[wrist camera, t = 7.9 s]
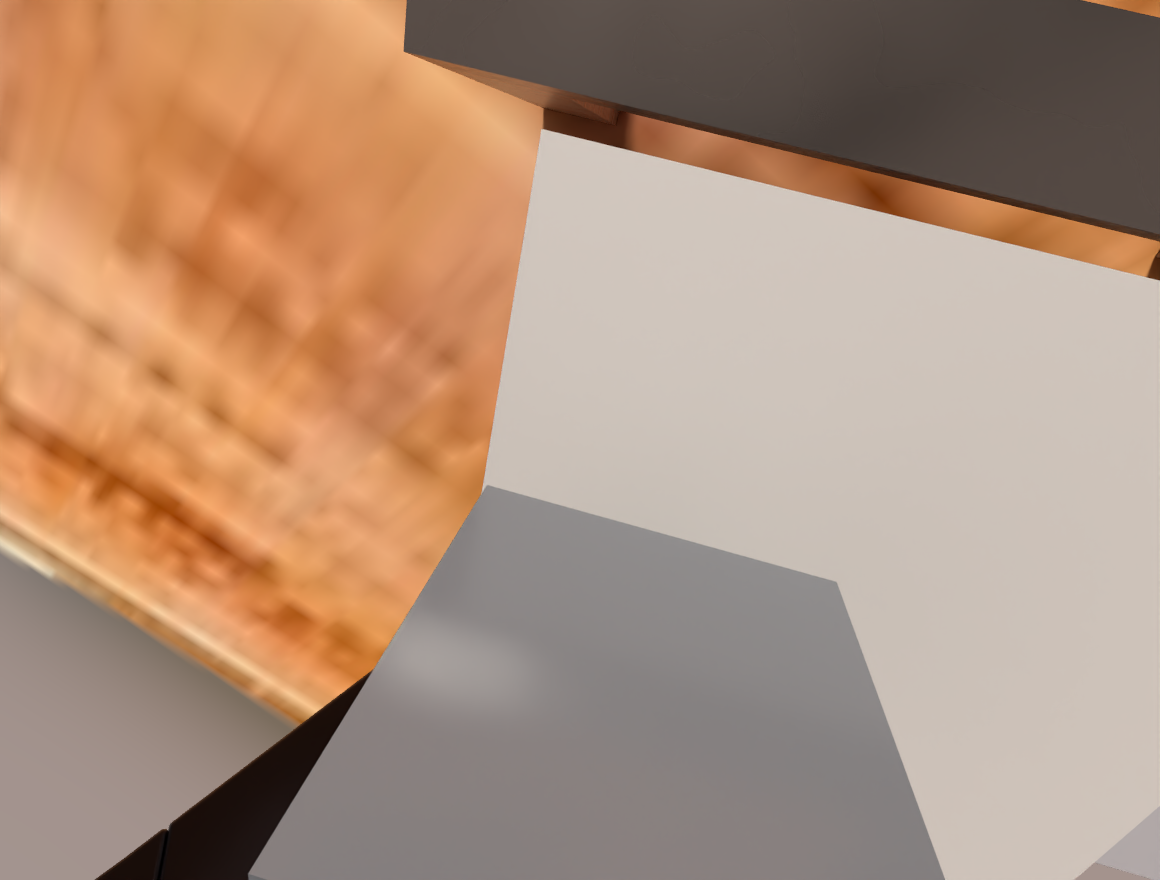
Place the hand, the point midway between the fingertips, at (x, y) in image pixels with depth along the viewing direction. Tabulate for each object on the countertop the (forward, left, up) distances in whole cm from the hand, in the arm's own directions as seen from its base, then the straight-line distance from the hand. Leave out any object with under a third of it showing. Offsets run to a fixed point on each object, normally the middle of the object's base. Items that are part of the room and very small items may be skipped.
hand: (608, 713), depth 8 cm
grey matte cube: (0, 0, -1) cm, 1 cm away
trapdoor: (-6, 0, -8) cm, 10 cm away
